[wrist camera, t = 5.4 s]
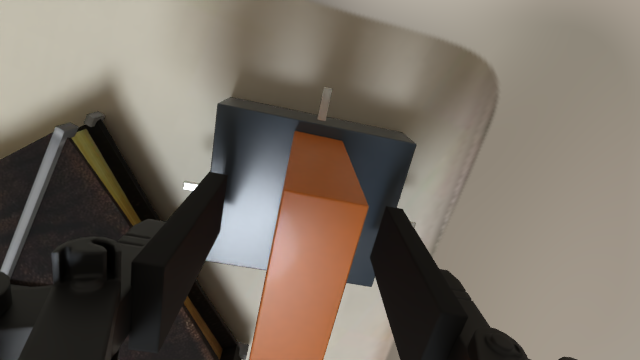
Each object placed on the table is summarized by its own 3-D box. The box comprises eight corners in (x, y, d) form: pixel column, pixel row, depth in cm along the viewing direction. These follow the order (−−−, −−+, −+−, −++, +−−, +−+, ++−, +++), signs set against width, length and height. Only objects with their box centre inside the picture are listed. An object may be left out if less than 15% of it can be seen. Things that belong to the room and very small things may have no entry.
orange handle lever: (294, 130, 15) (282, 193, 8) (343, 140, 15) (371, 210, 8) (268, 263, 17) (241, 399, 10) (310, 270, 17) (311, 408, 10)
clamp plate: (432, 106, 17) (453, 114, 15) (375, 284, 21) (384, 316, 18) (211, 58, 16) (192, 58, 13) (192, 256, 20) (175, 284, 17)
